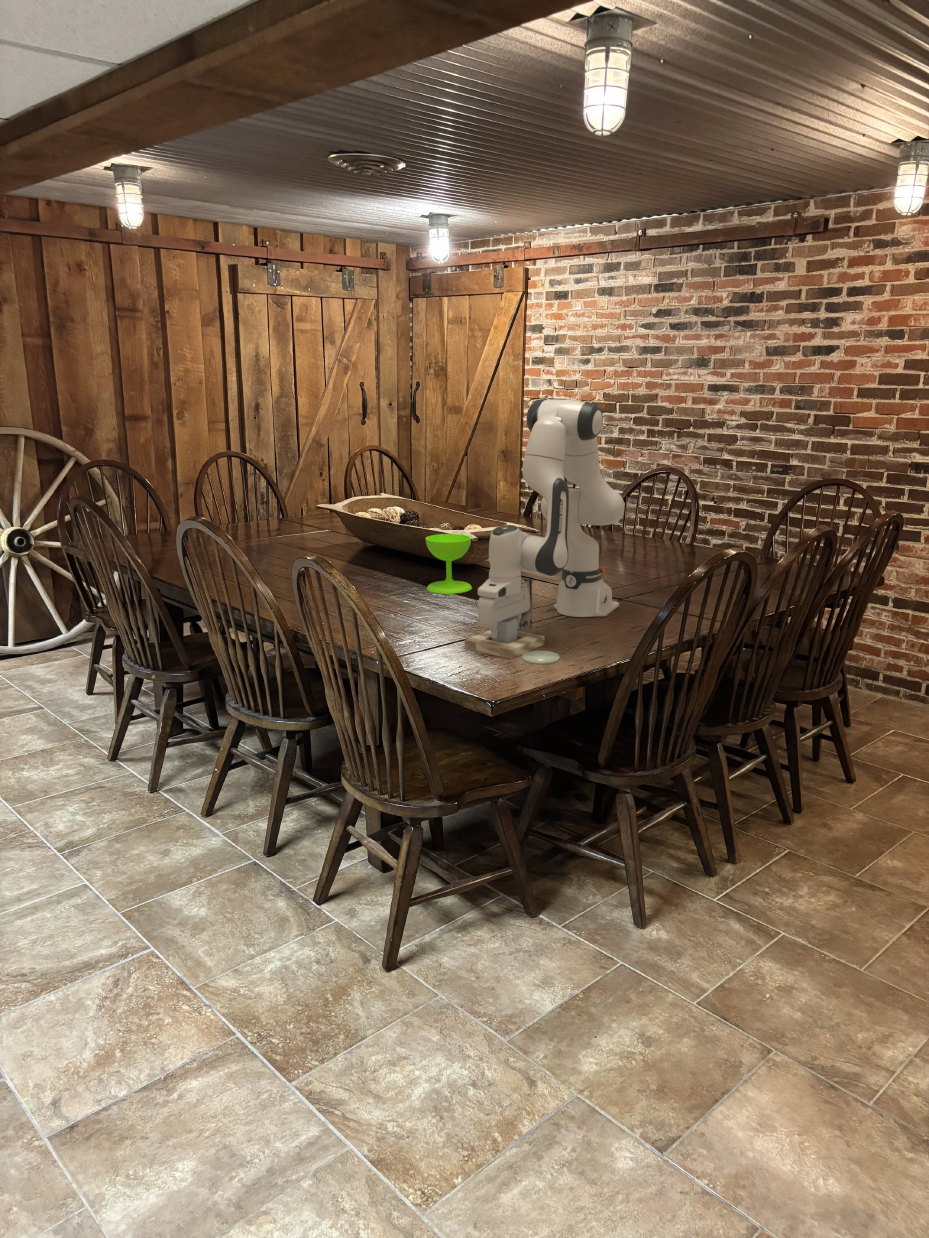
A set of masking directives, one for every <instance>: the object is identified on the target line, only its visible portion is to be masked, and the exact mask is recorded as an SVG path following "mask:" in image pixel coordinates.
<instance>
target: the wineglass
mask: <svg viewBox="0 0 929 1238" xmlns="http://www.w3.org/2000/svg"><path fill="white" fill-rule="evenodd" d="M471 542H472V537H471V536H470V535H467V534H461V533H460V534H459V533H440V534H433V535H429V536H426V537H425V544H426V547H427V548H428V551H429V553H431V555H433V556H434V557H435V558H437V559H438V560H441V561H444V562H445V564H446V565H445V568H446V569H445V570H446V571H445V572H446V574H445V575H446V577H445V580H438V581H434V582H431V583H429V584H428V585H427V587H426V590H427V591H428V592H430V593H431V592H432V593H434V594H446V595H450V594H451V595H452V594H454V595H455V594H462V593H466V592H468V591H471V590H472V589H473V587H472V585H471V584H470V583H468V582H466V581H460V580H454V579H453V574H452V573H453V571H452V570H453V569H452V564H453V563H452V562H453V561H457V560H458V559H460V558H462V557H464V555H466V553H467V552H468V551H469V550H470V549H469V548H470V546H471V544H472V543H471Z"/></svg>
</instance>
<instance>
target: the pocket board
mask: <svg viewBox="0 0 929 1238" xmlns="http://www.w3.org/2000/svg"><path fill="white" fill-rule="evenodd" d="M544 645H545V635H542V634H541V635H540V634H536V633H526V632H521V631H517V640H516V641H514V642H512V643H509V644H506V643H501V642H497V641H492V637H491V631H490V629H489V630H487V631H484V632H481V633H479V634H476V635H473V636H471V637H469V638H467V639H464V649H466V650H470V651H474V652H479V653H482V654H487V655H492V656H495V657H496V656H497V657H501V658H505V659H506V658H507V659H511V660H512V659H515V658H517V657H520V656H522V655H523V654H524V653H526V652H530V651H534V650H535V649H537V648H539V647H542V646H544Z"/></svg>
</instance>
